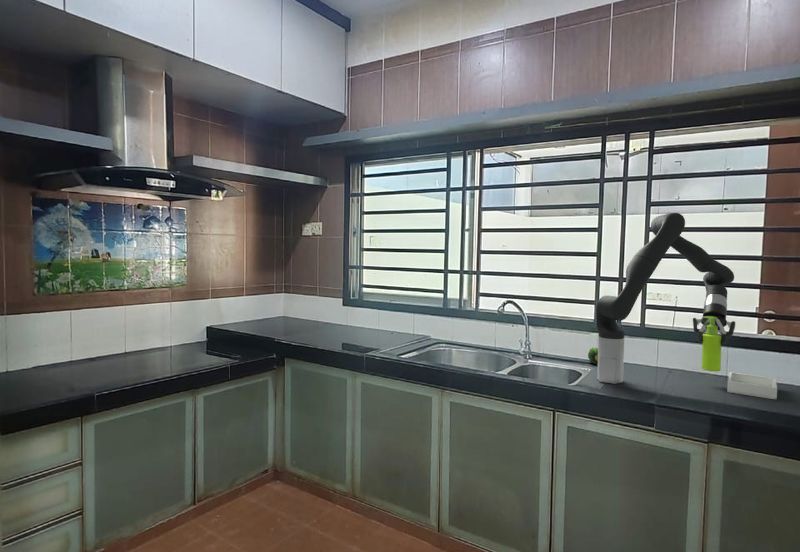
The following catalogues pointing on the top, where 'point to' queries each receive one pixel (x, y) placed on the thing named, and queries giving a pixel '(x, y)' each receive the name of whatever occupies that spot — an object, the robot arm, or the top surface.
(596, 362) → the vegetable
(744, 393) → the tray
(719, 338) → the soap dispenser
